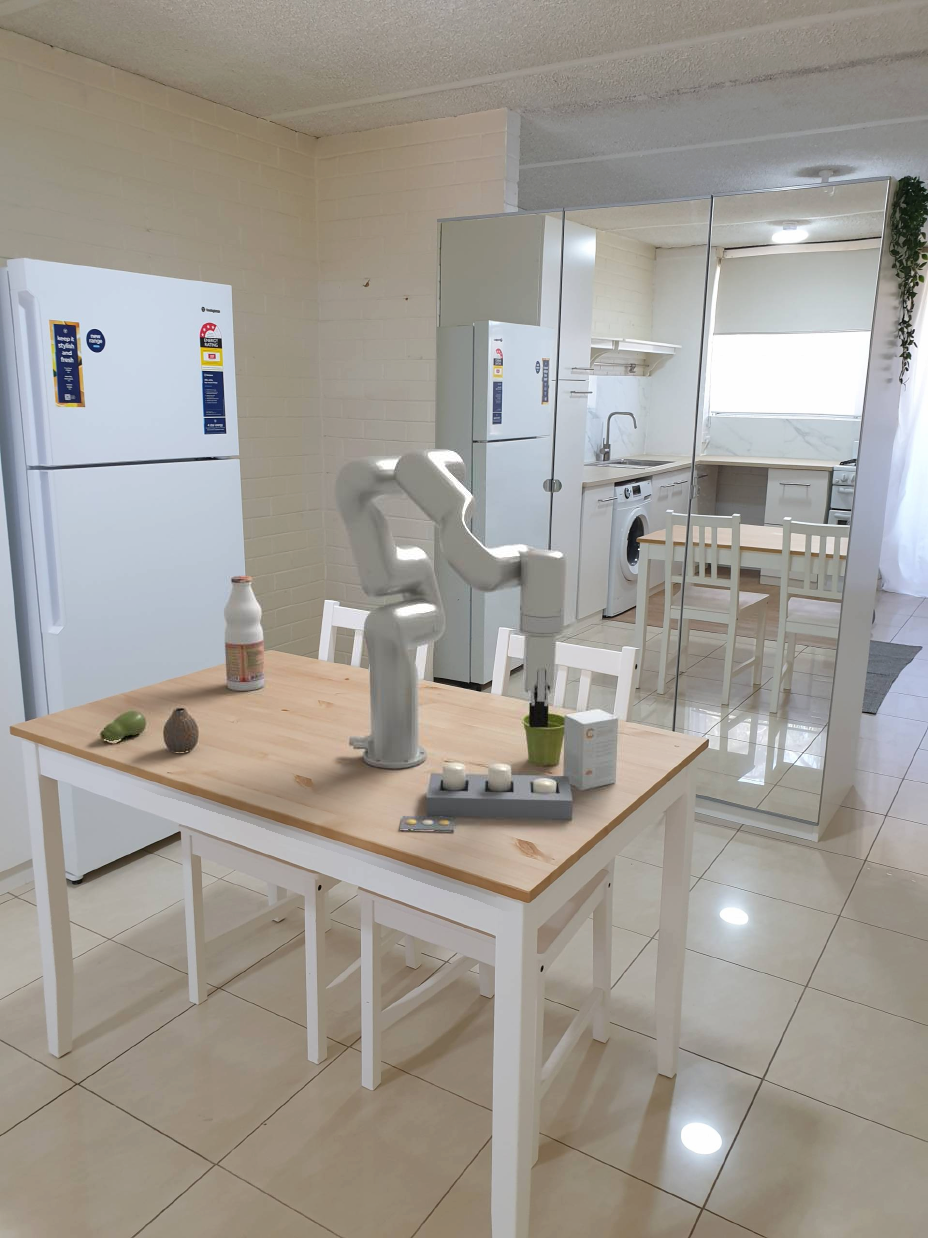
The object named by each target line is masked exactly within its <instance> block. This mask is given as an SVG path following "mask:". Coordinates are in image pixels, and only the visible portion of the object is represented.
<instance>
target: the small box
mask: <svg viewBox="0 0 928 1238" xmlns="http://www.w3.org/2000/svg"><path fill="white" fill-rule="evenodd" d="M564 717H565V721H564V737H563V765H562V767H563V768H562V769H563V773H562V776H568V778H569V783H570V785H571V786H573V787H575V788H576V789H578V790H580V791H584V790H587V789H593V788H597V787H601V786H606V785H611V784H615V783H616V779H617V759H618V758H617V756H618V755H617V753H618V732H619V717H617V716H616V715H613V714H611V713H609V712H606V711H604V710H602V709H599V708H596V709H591V710H585V711H579V712H575V713H574V712H573V713H569V714H567V713H566V714H564Z"/></svg>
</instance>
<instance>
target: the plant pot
mask: <svg viewBox="0 0 928 1238" xmlns="http://www.w3.org/2000/svg"><path fill="white" fill-rule="evenodd" d="M564 721H565V715H564V716H563V715H562V714H561V715H560V714H558V713H553V712H548V727H547V728H533V727H530V726H529V713H528V714H526V715H524V716H522V718H521V722H522V724H523V729H524V731H525V735H526V736H525V737H526V745H527V757H528V761H530V763H531V764H532V765H535V766H539V767H545V766H556V765H558V763H560V759H561V754H562V748H563V744H564Z"/></svg>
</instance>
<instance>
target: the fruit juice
mask: <svg viewBox="0 0 928 1238" xmlns="http://www.w3.org/2000/svg"><path fill="white" fill-rule="evenodd" d="M230 578H231V579H230V582H231V584H232V588H231V592H230V595H229V597H228V601H227V603H226V605H225V607H224V610H223V616H224V620H225V622H226V626H225V629H224V650H225V652H224V653H225V671H226V674H225V675H226V686H227V688H228V689H230V690H231V691H235V692H236V691H237V692H248V691H255V690H259V689H261V688H263V687H265V684H266V676H265V673H266V671H265V650H264V649H265V647H264V645H265V644H264V630H263V627H262V625H261V619H262V614H263V613H262V612H263V611H262V607H261V605H260V604H259V602H258V601H257V598H256V596H255V594H254V591H253V588H252V586H251V585H252V580H253V579H252V576H249V575H235V576H232V577H230Z"/></svg>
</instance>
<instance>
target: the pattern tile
mask: <svg viewBox="0 0 928 1238" xmlns="http://www.w3.org/2000/svg"><path fill="white" fill-rule="evenodd" d="M455 822H456V817H432V816H412V815H410V816H409V815H408V816H407V815H402V817H401V821H400V826H399V830H400V829H408V830H411V829H413V830H434V831H451V832H450V833H454V832H455V826H456V825H455V824H456V823H455Z"/></svg>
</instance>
